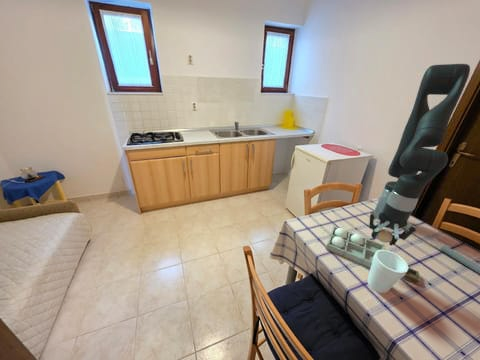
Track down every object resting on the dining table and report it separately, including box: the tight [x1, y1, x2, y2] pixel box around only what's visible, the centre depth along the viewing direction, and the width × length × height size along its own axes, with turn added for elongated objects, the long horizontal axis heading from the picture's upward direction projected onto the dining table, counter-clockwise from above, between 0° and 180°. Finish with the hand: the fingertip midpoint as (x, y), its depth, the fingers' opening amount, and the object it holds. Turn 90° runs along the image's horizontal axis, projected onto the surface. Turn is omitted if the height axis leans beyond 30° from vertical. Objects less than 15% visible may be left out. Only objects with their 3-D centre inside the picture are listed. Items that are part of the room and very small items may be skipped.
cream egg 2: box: [332, 237, 344, 248], centre depth 86 cm, size 5×5×5 cm
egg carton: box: [325, 226, 386, 269], centre depth 86 cm, size 14×21×3 cm
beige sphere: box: [376, 228, 394, 244], centre depth 74 cm, size 5×5×5 cm
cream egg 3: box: [351, 233, 364, 245], centre depth 88 cm, size 5×5×5 cm
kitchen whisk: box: [401, 219, 480, 275], centre depth 87 cm, size 6×34×6 cm, turn 27°
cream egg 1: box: [335, 227, 347, 239], centre depth 91 cm, size 5×5×5 cm
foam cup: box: [367, 249, 410, 294], centre depth 69 cm, size 10×9×13 cm
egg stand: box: [401, 267, 421, 285], centre depth 75 cm, size 5×5×2 cm
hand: (381, 240), depth 76 cm, fingers closed on beige sphere, 5 cm apart
